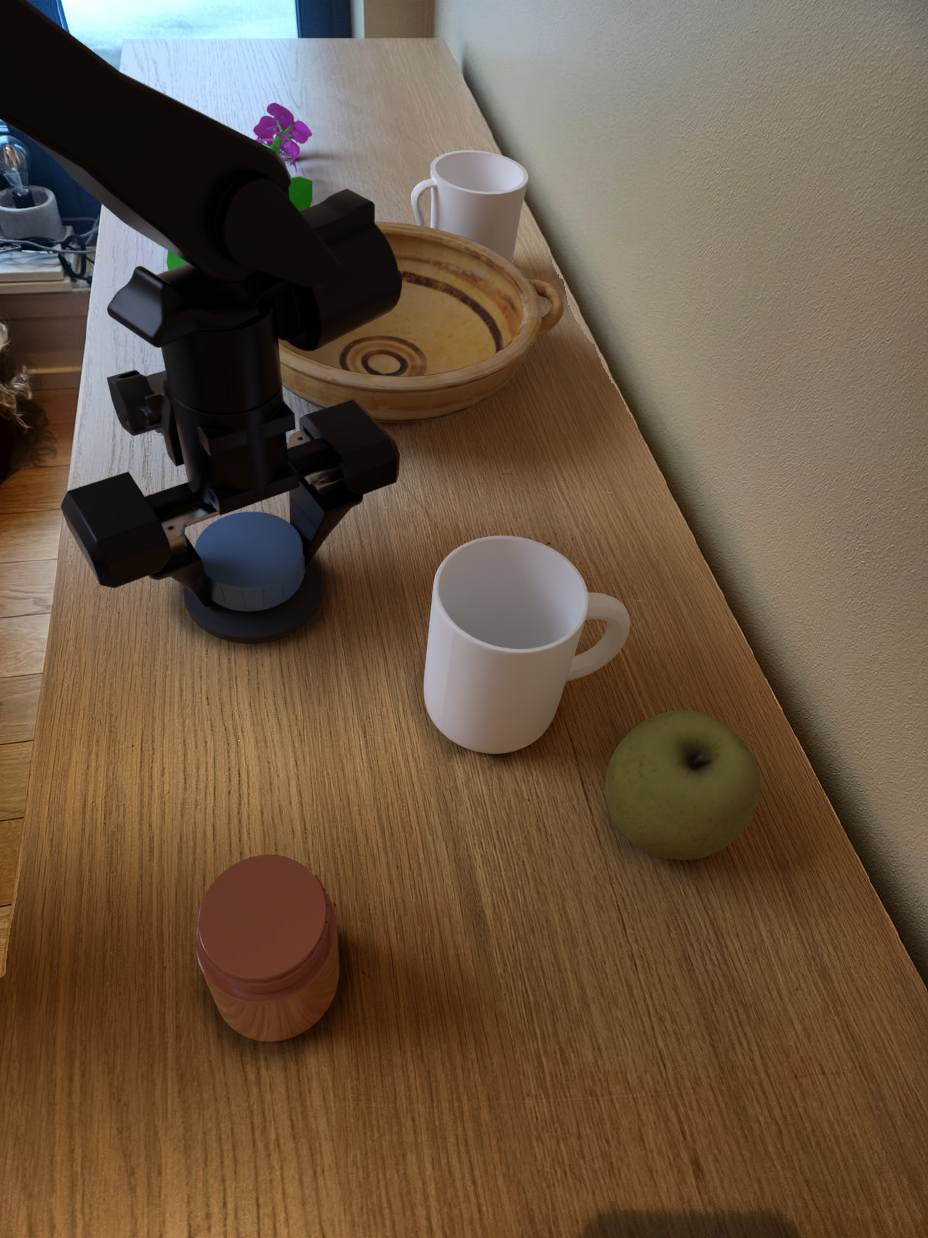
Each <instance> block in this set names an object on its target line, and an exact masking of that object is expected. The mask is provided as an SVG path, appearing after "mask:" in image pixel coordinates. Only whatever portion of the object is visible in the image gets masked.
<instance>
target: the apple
mask: <svg viewBox="0 0 928 1238" xmlns="http://www.w3.org/2000/svg"><path fill="white" fill-rule="evenodd" d="M761 786H762V780H761V771H760V768H759V766H758V762H757V759H756V758H755V756H754V754H753V753H752V751H751V749H750V748H749V746H748V745H747V744H746V742H745V741H744V740H743V738H741V737H740V735H739V734H737V733H736V732H735V731H734V730H733V729H732V728H731V727H729V726H728V725H727V724H725V723H724V722H723V721H721V720H720V719H718V718H716V717H714V716H712V715H710V714H708V713H705V712H702V711H697V710H690V709H679V710H678V709H675V710H669V711H665V712H661V713H658V714H655V715H653V716H651V717H649V718H647V719H645V720H643V721H642V722H640V723H639V724H637V725H636V726H634V728H632V729H631V730H629V732H628V733H627V734H626V735H625V736H624V737H623V738H622V740H620V742H619V743H618V744H617V747H616V748H615V750H614V752H613V754H612V756H611V758H610V761H609V764H608V767H607V770H606V776H605V786H604V787H605V788H604V789H605V799H606V802H607V807H608V810H609V814H610V816H611V818H612V820H613V822H614V824H615V825H616V827H617V829H618V830H619V832H620V833H621V834H622V835H623V836H624V838H625V839H626V840H627V841H629V842H630V843H631V844H632V845H633V846H634V847H635V848H637V849H639V850H640V851H642V852H644V853H647V854H649V855H651V856H653V857H657V858H661V859H668V860H677V861H691V860H698V859H702V858H703V859H704V858H705V857H706V858H707V857H709V856H712V855H714V854H716V853H718V852H720V851H722V850H724V849H725V848H727V847H728V846H730V845H731V844H732V843H734V841H736V840H737V839H738V838H739V837H740V836H741V835H742V834H743V833H744V831H746V828H747V827H748V826H749V824H750V822H751V821H752V819H753V817H754V815H755V813H756V811H757V808H758V805H759V802H760V801H759V800H760V797H761V791H762V789H761V788H762V787H761Z"/></svg>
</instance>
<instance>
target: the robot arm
mask: <svg viewBox="0 0 928 1238" xmlns="http://www.w3.org/2000/svg"><path fill="white" fill-rule="evenodd" d="M0 121H2V122H3V123H5V124H7V125H8V126H10V127H12V128H13V129H15V130H17V131H18V132H19V133H20V132H21V133H22V134H23V135H25V136H26V137H28V138H29V139H30V140H32V141H33V142H34V143H35V144H36V145H38V147H40V148H41V149H42V150H43V151H45V152H46V153H47V154H48V155H49V156H50V157H51V158H52V159H54V160H55V161H56V162H57V163H58V165H59V166H60V167H61V168H62V169H63V170H64V171H65V172H66V173H67V174H68V175H69V176H70V177H71V179H72V180H74V182H75V183H77V184H78V185H79V186H80V187H81V188H83V190H85V191H86V192H87V193H88V194H90V195H91V196H92V197H93V198H94V199H95V200H97V202H99V203H100V204H101V205H102V206H104V208H106V209H107V210H108V211H110V212H111V213H112V214H113V215H114V216H115V217H116V218H118V219H119V220H120V221H121V222H122V223H124V224H125V225H127V226H128V227H129V228H131V229H132V230H134V231H135V232H137V233H139V234H140V235H142V236H144V237H145V238H147V239H148V240H150V241H152V242H154V243H155V244H157V245H158V246H160V247H161V248H163V249H165V250H166V251H167V252H168V251H170V252H171V253H173V254H175V255H176V256H178V257H180V258H181V259H183V260H184V261H186V262H188V263H186V264H183V265H181V266H178V267H176V268H173V269H171V270H168V269H167V270H166V271H163V272H161V273H159V274H156V273H154V272H152V271H151V270H149V269H148V268H147V267H145V266H142V265H137V266H136V267H135V268H134V270H133V272H132V274H131V278H130V279H129V281H128V282H127V283H126V284H125V285H124V286H123V287H121V288H120V289H119V290H118V291H116V293H115V294H114V296H113V297H112V298H111V300H110V302H109V303H108V305H107V307H106V312H107V314H108V316H109V317H110V318H112V319H113V320H115V321H116V322H117V323H119V324H121V325H122V326H123V327H125V328H126V329H128V330H129V331H131V332H132V333H134V334H135V335H136V336H137V337H139V338H141V339H142V340H144V341H145V342H146V343H148V344H150V345H151V346H152V347H154V348H157V349H160V350H161V354H162V355H161V356H162V360H163V364H164V365H163V366H164V369H165V370H161V371H158V372H154V373H151V374H148V375H144V374H143V373H140V371H138V370H137V369H133V370H129V371H125V372H122V373H117V374H114V375H111V376H108V377H106V380H107V386H108V391H109V394H110V399H111V402H112V405H113V407H114V412H115V414H116V416H117V420H118V421H119V424H120V426H121V427H122V429H124V430H125V431H126V432H127V433H128V434H129V435H131V436H133V437H136V436H140V435H143V434H145V433H149V432H152V431H154V432H156V433H157V434H161V435H162V436H163V440H164V445H165V450H166V453H167V456H168V457H169V459H170V460H171V462H172V463H173V465H174V466H175V467H176V468H177V467H180V466H183V465H184V469H185V475H186V479H187V481H186V482H184V483H181V484H178V485H174V486H171V487H168V488H165V489H163V490H159V491H157V492H153V493H151V494H147V495H144V493H143V492H142V490H141V489H140V487H139V485H138V484H137V482H136V481H135V479H134V478H133V476H132V474H131V473H130V472H129V471H128V470H127V471H126V472H122V473H119V474H116V475H113V476H109V477H106V478H103V479H101V480H100V479H99V480H98V481H97V480H96V481H94V482H91V483H88V484H85V485H82V486H79V487H75V488H72V489H69V490H67V491H66V493H65V495H64V497H63V499H62V501H61V504H60V509H61V512H62V514H63V517H64V520H65V523H66V526H67V528H68V530H69V532H70V533H71V535H72V537H73V539H74V541H75V542H76V544H77V546H78V548H79V550H80V551H81V554H82V555H83V556H84V559H85V560H86V562H87V564H88V566H89V567H90V569H91V571H92V573H93V574H94V576H95V578H96V580H97V582H98V584H99V585H100V586H101V587H107V588H112V589H116V588H119V587H122V586H125V585H127V584H130V583H133V582H135V581H138V580H141V579H143V578H146V577H148V578H150V579H151V580H154V581H161V580H165V579H167V578H171V579H172V580H175V581H176V582H178V583H179V584H181V585H182V586H186V587H187V588H189V589H190V590H191V591H192V592H193V594H194V595H195V596H196V597H197V598H198V599H199V600H200V601H201V602H202V604H203V605H204V606H205V607H208V606H211V605H212V593H211V590H210V587H209V583H208V580H207V576H206V572H205V569H204V566H203V562H202V559H201V557H200V556H199V554H198V553H197V551H196V550H195V546H194V545H193V544H192V542H191V541H190V539H189V538H188V535H186V528H188V527H190V526H192V525H196V524H198V523H201V522H205V521H207V520H210V519H212V518H214V517H217V516H224V515H227V514H230V513H232V512H235V511H238V510H241V509H243V508H246V507H249V506H251V505H254V504H257V503H260V502H263V501H266V500H268V499H272V498H273V497H274V498H275V497H277V496H279V495H282V494H286V493H288V503H289V504H288V506H289V523H290V524H291V525H292V526H293V527H294V528H295V529H296V530H297V532H298V533H299V535H300V537H301V540H302V544H303V556H304V561H305V567H306V566H307V565H308V563H309V562H310V561H311V559H312V558H314V556H315V555H316V553H318V551H319V550H320V548H321V546H322V545H323V544H324V542H325V541H326V539H327V538H328V537H329V535H331V533H332V531H334V529H335V528H336V527H337V526H338V524H339V523H340V522H341V521H342V520H343V519H344V518H345V516H346V515H347V514H348V513H349V512H350V511H351V509H352V508H354V507H357V506H359V505H360V504H362V502H363V500H364V495H367V494H369V493H371V492H374V491H378V490H380V489H382V488H385V487H387V486H391V485H394V484H395V483H397V481H398V479H399V476H400V467H401V466H400V464H401V462H400V461H401V453H400V450H399V447H398V445H397V442H396V440H395V439H394V438H393V437H392V436H391V434H389V433H388V432H387V430H385V428H384V427H383V426H382V425H381V424H380V422H377V421H376V420H375V419H374V418H373V417H372V416H371V415H370V414H369V412H368V411H367V410H366V409H365V408H364V407H363V406H362V405H360V404H359V403H357V402H356V401H355V400H350V401H347V402H343V403H340V404H337V405H334V406H331V407H328V408H325V409H322V408H321V409H318V410H315V411H312V412H309V413H307V414H304V415H302V416H301V417H299V418H298V425H299V430H297V431H295V430H296V429H297V428H296V414H295V412H294V411H293V409H291V408H290V407H289V405H288V404H287V402H285V399H284V389H283V388H284V387H283V386H282V377H281V365H280V353H279V341H278V338H279V339H281V340H284V341H287V342H288V343H289V344H291V345H292V346H294V347H295V348H297V349H300V350H303V351H314V350H316V349H319V348H321V347H323V346H325V345H326V344H328V343H330V342H332V341H334V340H336V339H338V338H340V337H342V336H344V335H346V334H348V333H350V332H352V331H354V330H356V329H358V328H360V327H361V326H363V325H365V324H367V323H369V322H371V321H373V320H375V319H377V318H379V317H381V316H383V315H385V314H387V313H389V312H391V311H392V310H393V309H394V308H395V306H396V305H397V303H398V301H399V299H400V296H401V290H402V274H401V272H400V271H399V270H398V266H397V262H396V259H395V256H394V253H393V250H392V248H391V246H390V244H389V242H388V241H387V239H386V237H385V235H384V234H383V233H382V231H381V230H380V229H379V227H378V226H377V225H376V224H375V222H376V215H375V214H376V204H375V202H374V201H372V200H371V199H368V198H367V197H365V196H363V195H360V194H358V193H356V192H355V191H353V190H351V189H348V188H345V189H342V190H340V191H337V192H335V193H332V194H330V195H329V196H328V197H327V198H325V199H324V200H323V201H321V202H319V203H316V204H314V205H311V206H310V207H309V208H306V209H304V210H301V211H299V210H298V209H297V208H296V206H295V205H294V204H293V203H292V201H291V200H290V197H289V187H290V185H291V178H292V176H291V174H290V171H289V169H288V166H287V164H286V163H285V164H286V165H285V164H284V162H283V161H282V160H281V159H280V158H279V156H278V155H277V154H276V153H275V151H273V150H272V149H270V147H268V146H267V145H264V144H261V143H260V142H257V141H256V140H254V139H253V138H252V137H249V136H247V135H246V134H244V133H242V132H240V131H238V130H236V129H235V128H232V127H230V126H229V125H227V124H225V123H222V122H221V121H219V120H217V119H215V118H213V117H211V116H209V115H207V114H205V113H203V112H201V111H199V110H197V109H195V108H194V107H191V106H190V105H187V104H186V103H183V102H181V101H179V100H178V99H175V98H174V97H171V96H170V95H168V94H166V93H164V92H161V91H160V90H157V89H156V88H154V87H151V86H150V85H148V84H146V83H144V82H142V81H139V80H138V79H136V78H133V77H131V76H129V75H128V74H126V73H123V72H121V71H120V70H119V69H117V68H116V67H115V66H113V65H112V64H111V63H109V62H108V61H106V60H105V59H104V58H103V57H101V56H100V55H99V54H98V53H96V52H95V51H94V50H92V49H91V48H90V47H88V46H87V45H85V43H83V42H82V41H80V40H79V39H78V38H77V37H75V36H74V35H73V34H71V33H70V32H69V31H67V30H66V29H65V28H63V27H62V26H61V25H59V23H57V22H56V21H54V20H53V19H52V18H51V17H49V16H48V15H47V14H45V13H44V12H42V11H41V10H40V9H39V8H37V7H36V6H35V5H34V4H32V3H31V2H30V1H28V0H0ZM286 166H287V167H286ZM292 431H295V432H293V433H291V434H290V435H289V437H288V438H287V433H288V432H292Z"/></svg>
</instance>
